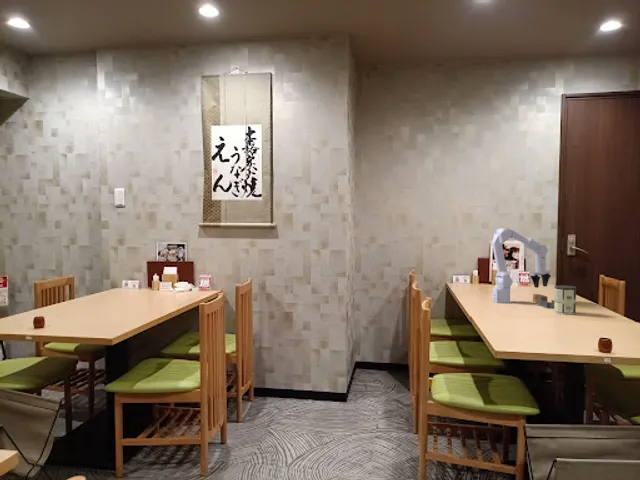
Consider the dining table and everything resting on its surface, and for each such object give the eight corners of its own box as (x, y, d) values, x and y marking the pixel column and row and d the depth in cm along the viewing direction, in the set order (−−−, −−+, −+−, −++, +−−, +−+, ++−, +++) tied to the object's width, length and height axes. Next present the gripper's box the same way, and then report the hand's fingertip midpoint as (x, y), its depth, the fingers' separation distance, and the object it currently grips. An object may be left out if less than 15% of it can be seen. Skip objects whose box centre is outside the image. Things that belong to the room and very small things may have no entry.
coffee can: (563, 310, 259) (564, 284, 258) (580, 314, 250) (581, 287, 249) (549, 311, 255) (550, 285, 255) (565, 315, 246) (566, 288, 245)
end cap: (537, 305, 275) (537, 300, 275) (552, 305, 275) (553, 300, 275) (546, 308, 265) (546, 302, 265) (562, 308, 266) (562, 302, 266)
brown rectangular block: (547, 304, 280) (547, 296, 280) (541, 304, 279) (541, 296, 279) (538, 301, 290) (538, 293, 289) (532, 301, 289) (533, 294, 289)
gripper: (538, 265, 280) (538, 288, 281) (554, 264, 287) (554, 286, 288) (528, 264, 287) (528, 287, 287) (544, 263, 293) (544, 285, 294)
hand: (540, 286), depth 288 cm, fingers open, 7 cm apart
